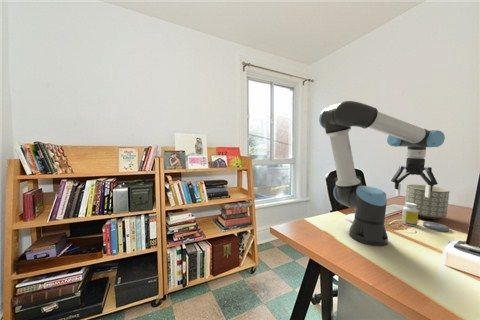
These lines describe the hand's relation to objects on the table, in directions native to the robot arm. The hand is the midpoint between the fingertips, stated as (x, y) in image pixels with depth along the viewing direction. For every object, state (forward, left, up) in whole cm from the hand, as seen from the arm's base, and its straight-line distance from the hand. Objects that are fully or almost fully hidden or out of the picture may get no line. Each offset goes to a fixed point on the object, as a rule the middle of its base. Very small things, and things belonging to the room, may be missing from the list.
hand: (412, 196), depth 108 cm
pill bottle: (0, 0, -16) cm, 16 cm away
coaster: (+11, -2, -16) cm, 19 cm away
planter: (+16, +17, -16) cm, 28 cm away
